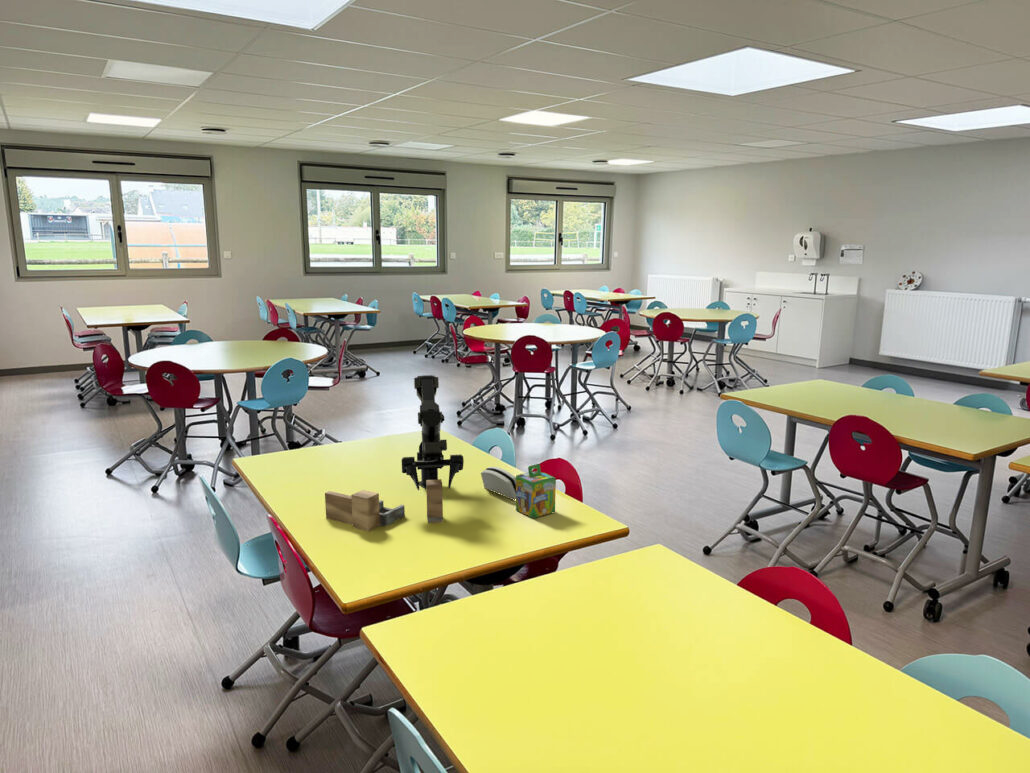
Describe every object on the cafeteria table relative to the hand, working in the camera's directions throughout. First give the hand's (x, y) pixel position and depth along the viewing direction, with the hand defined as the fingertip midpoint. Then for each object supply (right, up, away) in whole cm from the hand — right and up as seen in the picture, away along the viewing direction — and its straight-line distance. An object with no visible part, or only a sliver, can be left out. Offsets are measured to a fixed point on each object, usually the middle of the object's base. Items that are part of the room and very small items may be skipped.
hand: (434, 488), depth 209 cm
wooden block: (0, -9, 0) cm, 9 cm away
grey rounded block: (+20, -5, +23) cm, 31 cm away
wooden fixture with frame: (-21, -9, +2) cm, 23 cm away
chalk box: (+31, -8, +7) cm, 33 cm away
